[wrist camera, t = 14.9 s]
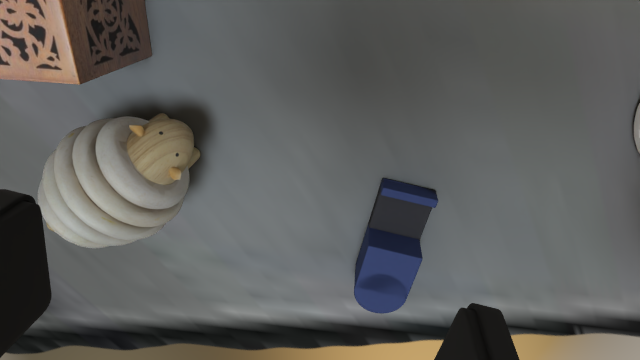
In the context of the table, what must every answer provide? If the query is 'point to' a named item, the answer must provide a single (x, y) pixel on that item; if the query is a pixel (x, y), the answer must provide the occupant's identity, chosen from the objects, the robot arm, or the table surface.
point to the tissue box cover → (70, 38)
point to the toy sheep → (117, 180)
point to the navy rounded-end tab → (392, 246)
